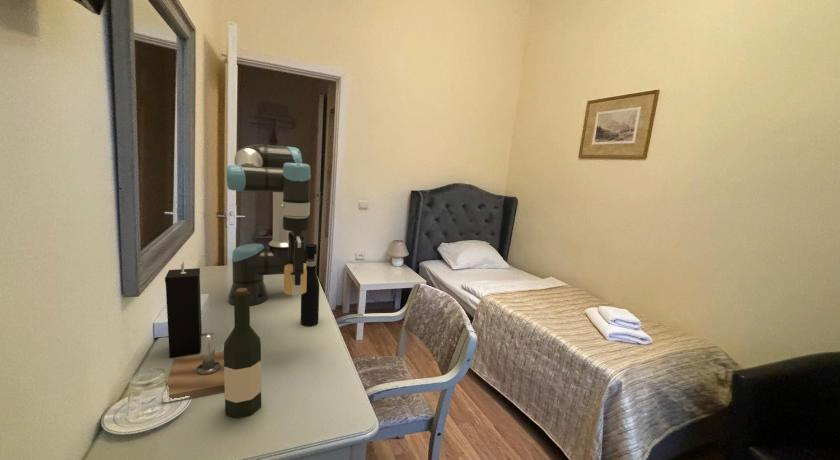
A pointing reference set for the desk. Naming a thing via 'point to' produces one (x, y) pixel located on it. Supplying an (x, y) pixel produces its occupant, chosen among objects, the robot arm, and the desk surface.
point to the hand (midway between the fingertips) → (295, 290)
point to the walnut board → (194, 377)
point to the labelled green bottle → (242, 362)
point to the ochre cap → (288, 279)
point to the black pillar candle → (183, 311)
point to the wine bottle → (310, 290)
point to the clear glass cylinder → (208, 355)
